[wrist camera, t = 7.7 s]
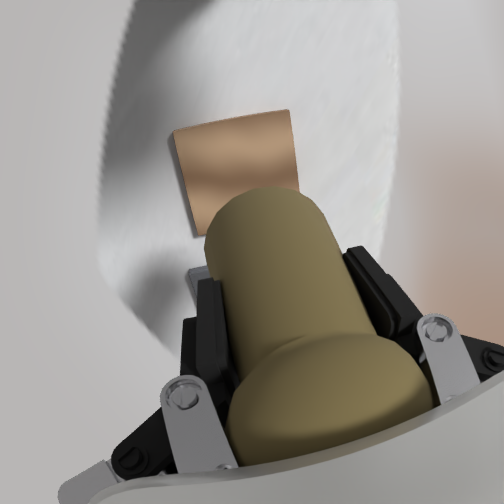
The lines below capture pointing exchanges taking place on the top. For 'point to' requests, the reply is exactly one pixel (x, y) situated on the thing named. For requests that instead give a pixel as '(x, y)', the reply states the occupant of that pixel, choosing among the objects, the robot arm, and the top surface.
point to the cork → (301, 334)
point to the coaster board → (235, 160)
